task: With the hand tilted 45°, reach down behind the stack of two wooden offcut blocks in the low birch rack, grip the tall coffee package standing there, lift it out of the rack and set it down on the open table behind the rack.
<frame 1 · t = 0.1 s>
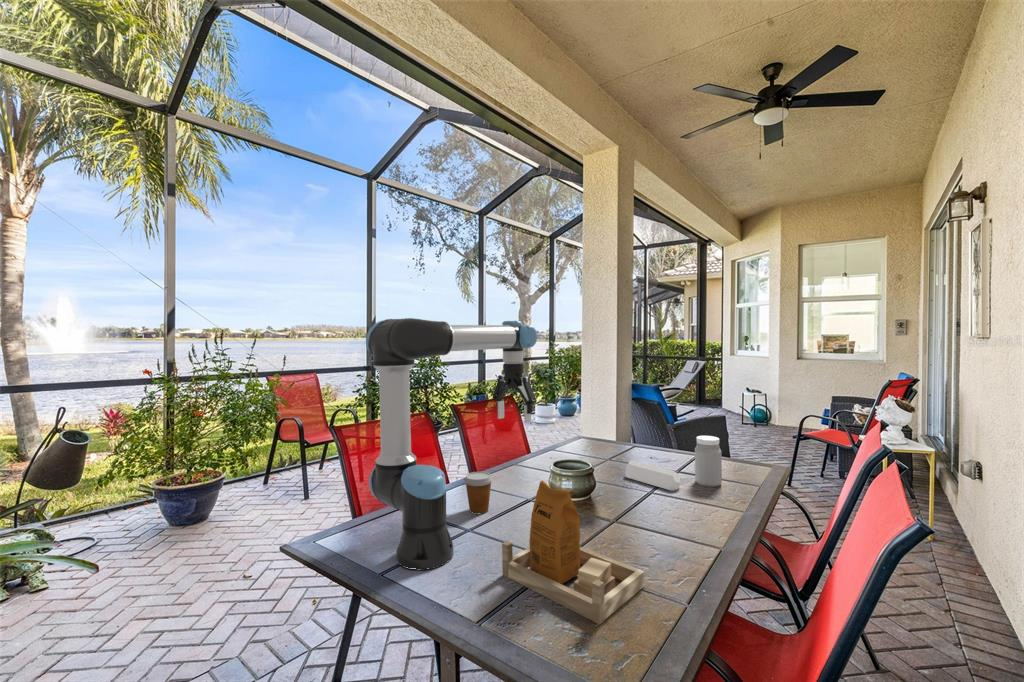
hand: (514, 420, 167), 28 cm above the table, tool pointing down, fingers open, 13 cm apart
offcut upper: (595, 579, 105), point 3 cm above the table
disposable coffee cup: (479, 511, 154), on the table
rack: (572, 580, 109), on the table
coffee package: (554, 573, 113), on the table
white triangular prism: (652, 483, 180), on the table
offcut lower: (594, 592, 105), on the table
jar: (708, 484, 177), on the table
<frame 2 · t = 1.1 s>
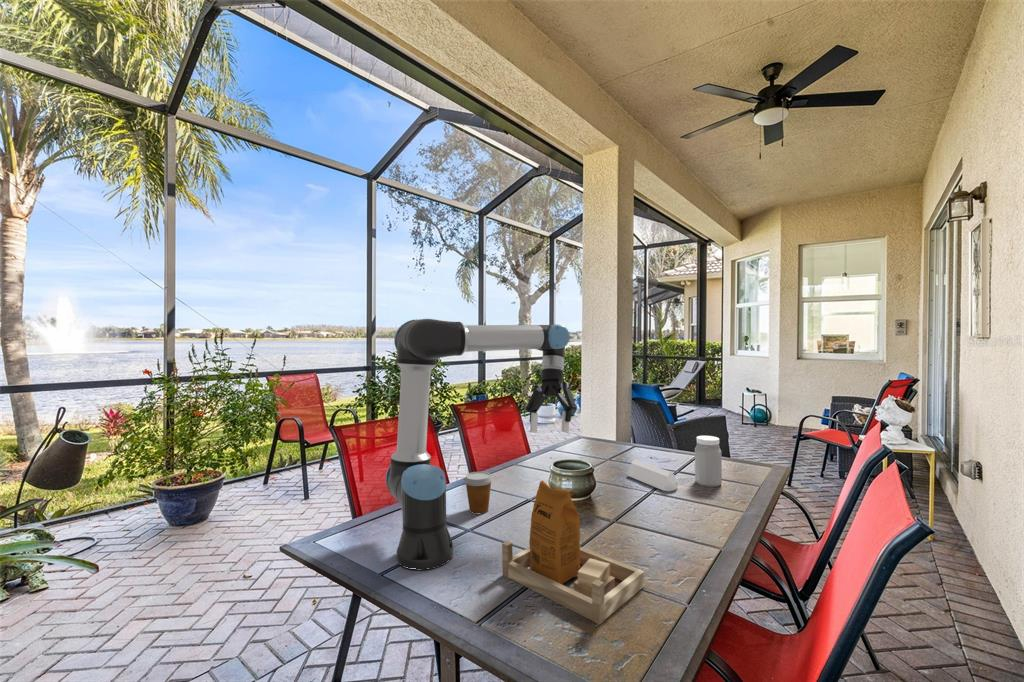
hand: (548, 432, 150), 27 cm above the table, tool tilted 20°, fingers open, 13 cm apart
offcut upper: (594, 580, 105), point 3 cm above the table, touching offcut lower
offcut lower: (594, 592, 105), on the table, touching offcut upper
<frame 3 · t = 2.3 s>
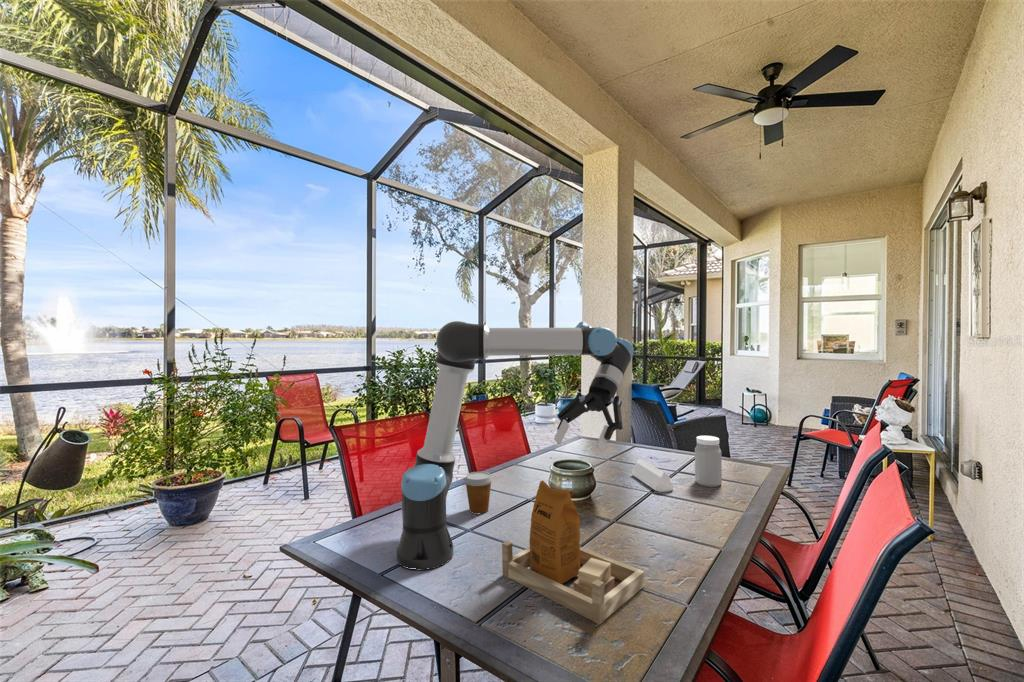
hand: (577, 445, 122), 30 cm above the table, tool tilted 45°, fingers open, 13 cm apart
offcut upper: (595, 579, 105), point 2 cm above the table
offcut lower: (594, 592, 105), on the table
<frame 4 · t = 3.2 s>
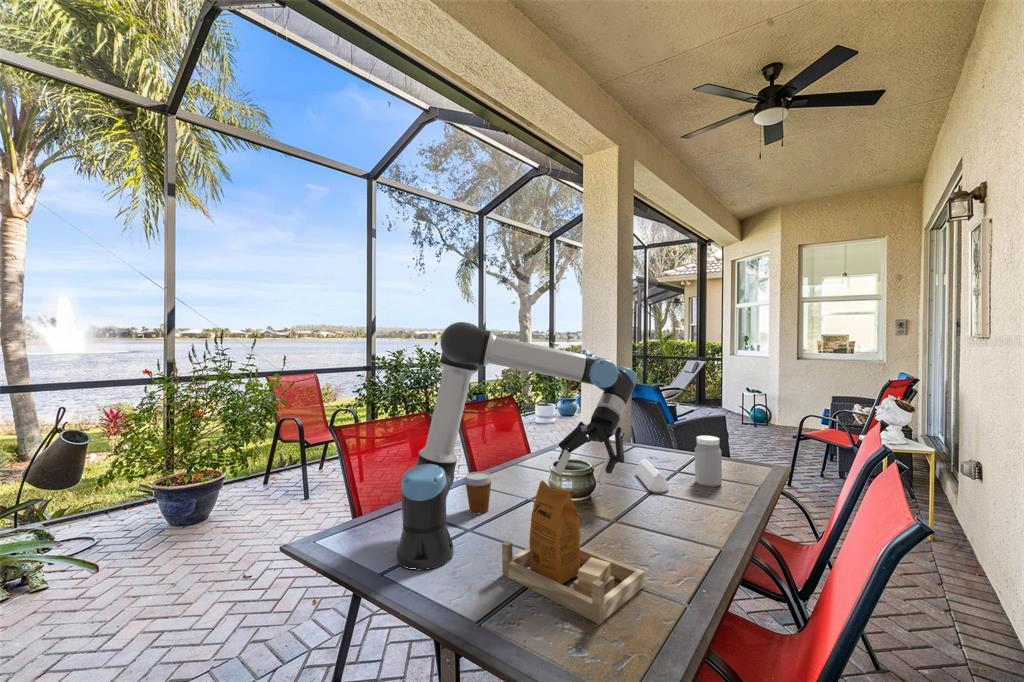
hand: (578, 477, 120), 21 cm above the table, tool tilted 45°, fingers open, 13 cm apart
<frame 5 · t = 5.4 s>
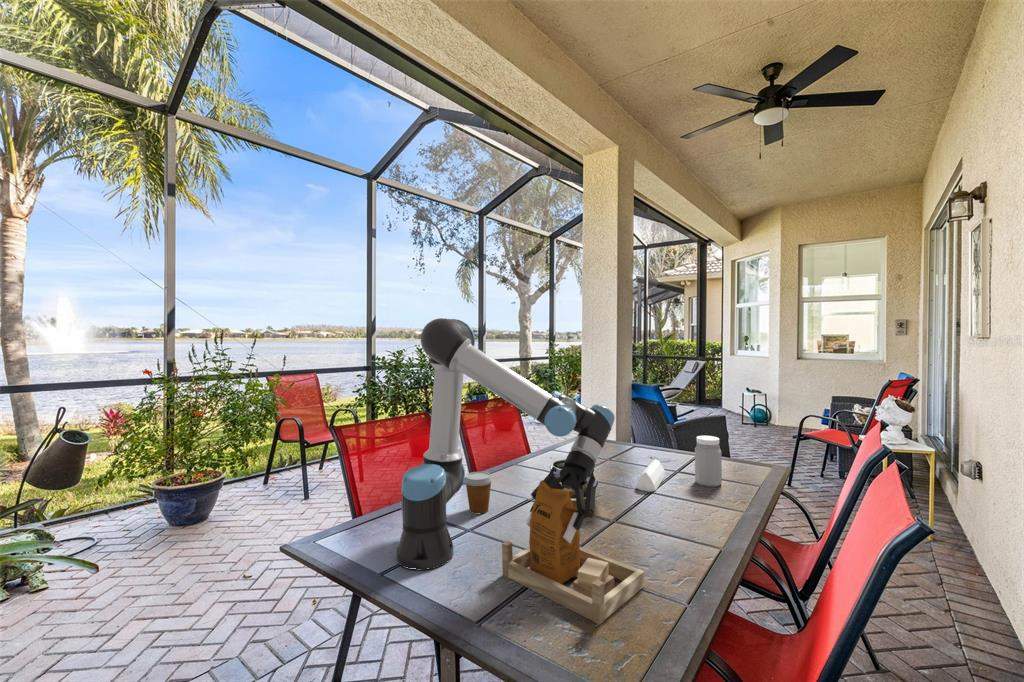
hand: (547, 533, 111), 11 cm above the table, tool tilted 45°, fingers closed on coffee package, 11 cm apart
offcut upper: (593, 579, 105), point 3 cm above the table, touching offcut lower
coffee package: (554, 573, 113), on the table, touching gripper
offcut lower: (594, 592, 105), on the table, touching offcut upper
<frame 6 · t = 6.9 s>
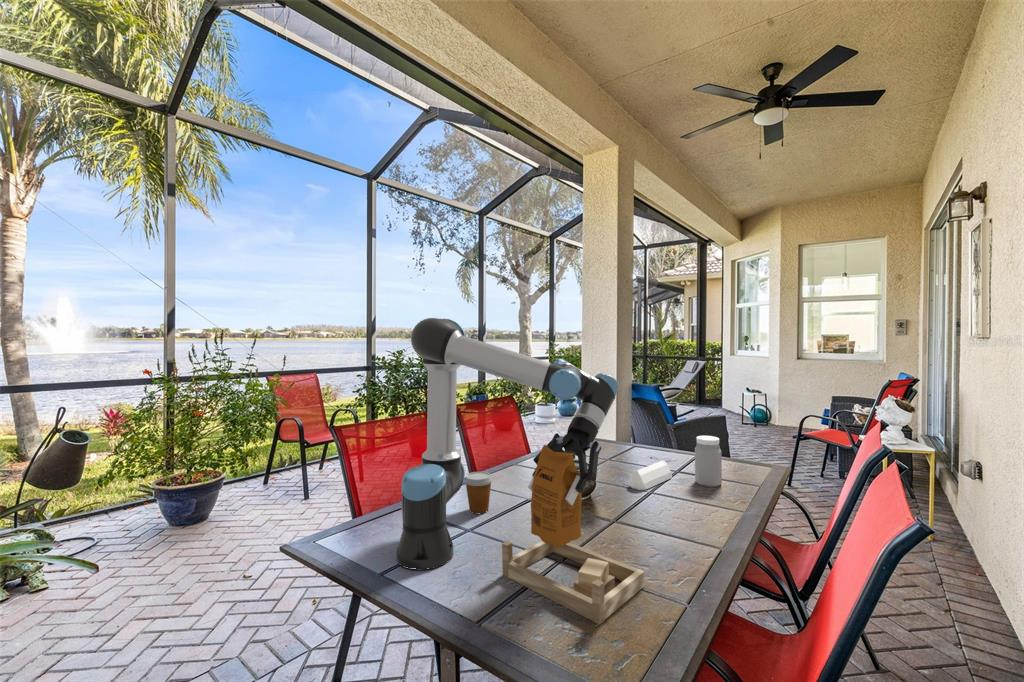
hand: (549, 496, 111), 20 cm above the table, tool tilted 45°, fingers closed on coffee package, 11 cm apart
offcut upper: (594, 579, 105), point 3 cm above the table
coffee package: (555, 537, 113), point 9 cm above the table, touching gripper
offcut lower: (594, 592, 105), on the table
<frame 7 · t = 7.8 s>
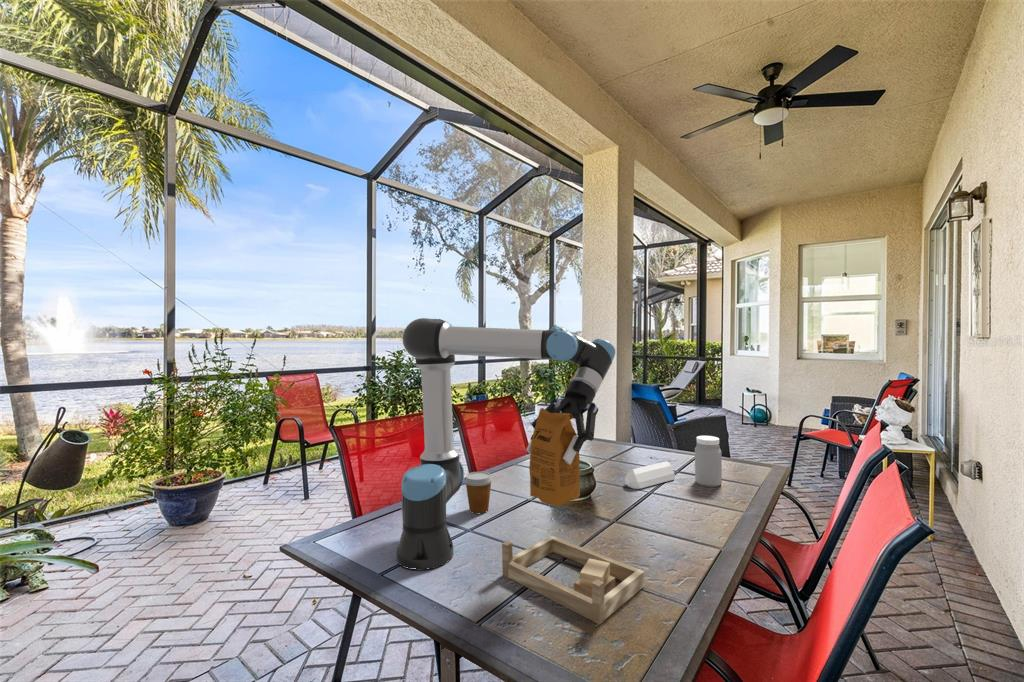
hand: (547, 457, 111), 29 cm above the table, tool tilted 45°, fingers closed on coffee package, 11 cm apart
offcut upper: (595, 580, 105), point 2 cm above the table, touching offcut lower
coffee package: (554, 498, 114), point 18 cm above the table, touching gripper
offcut lower: (595, 592, 105), on the table, touching offcut upper
when the fingers open (12 cm above the table, at t = 12.7 s): coffee package drops 1 cm, on the table.
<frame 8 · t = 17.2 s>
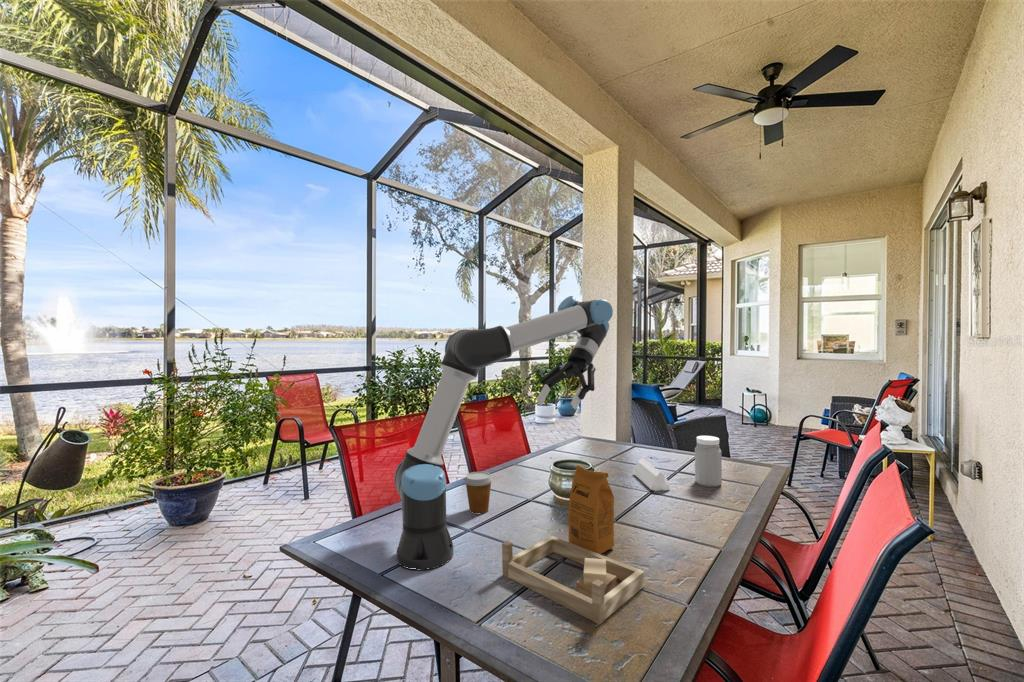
hand: (555, 404, 141), 38 cm above the table, tool tilted 45°, fingers open, 13 cm apart
coffee package: (590, 546, 127), on the table
at the end: coffee package inside the target area (0.3 cm from its centre), on the table; coffee package tilted 0°; the gripper is holding nothing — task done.
